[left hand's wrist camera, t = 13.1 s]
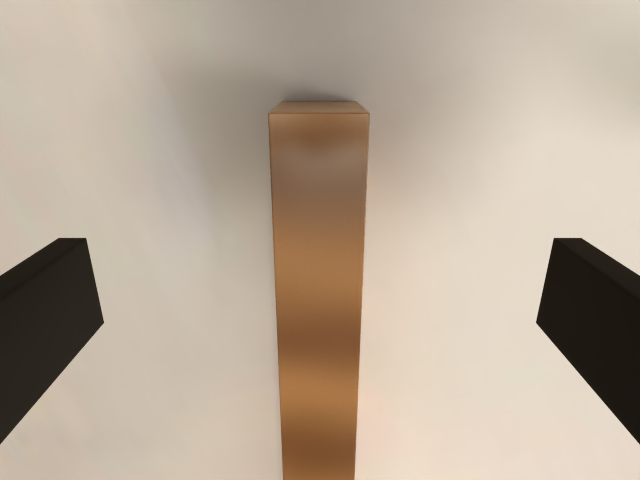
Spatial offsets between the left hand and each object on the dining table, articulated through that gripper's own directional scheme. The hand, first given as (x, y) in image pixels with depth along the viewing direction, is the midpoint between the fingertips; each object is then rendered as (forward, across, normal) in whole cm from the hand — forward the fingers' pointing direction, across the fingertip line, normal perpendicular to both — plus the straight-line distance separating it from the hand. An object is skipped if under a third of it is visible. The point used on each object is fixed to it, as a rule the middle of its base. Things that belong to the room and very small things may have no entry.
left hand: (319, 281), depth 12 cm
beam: (+19, 0, -29) cm, 35 cm away
